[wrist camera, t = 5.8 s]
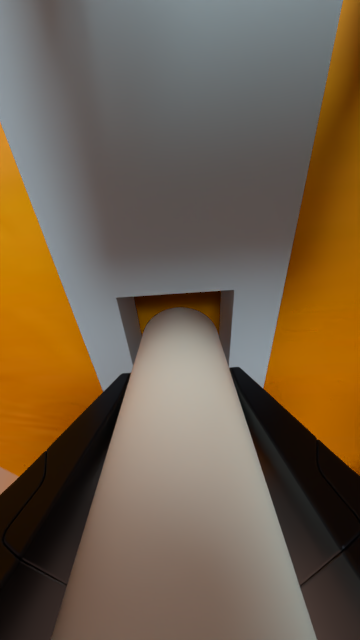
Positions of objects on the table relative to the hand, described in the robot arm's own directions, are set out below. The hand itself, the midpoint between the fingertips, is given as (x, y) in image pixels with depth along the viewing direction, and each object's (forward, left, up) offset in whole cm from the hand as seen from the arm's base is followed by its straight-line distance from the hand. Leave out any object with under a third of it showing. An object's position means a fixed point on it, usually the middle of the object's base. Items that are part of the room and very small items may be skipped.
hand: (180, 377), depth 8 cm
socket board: (+3, 0, -6) cm, 6 cm away
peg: (0, 0, -2) cm, 3 cm away
